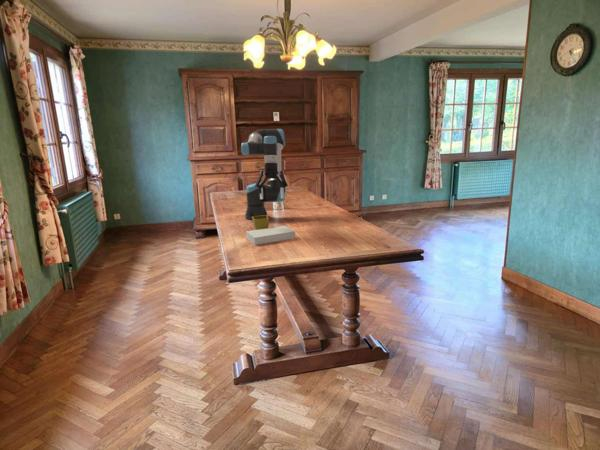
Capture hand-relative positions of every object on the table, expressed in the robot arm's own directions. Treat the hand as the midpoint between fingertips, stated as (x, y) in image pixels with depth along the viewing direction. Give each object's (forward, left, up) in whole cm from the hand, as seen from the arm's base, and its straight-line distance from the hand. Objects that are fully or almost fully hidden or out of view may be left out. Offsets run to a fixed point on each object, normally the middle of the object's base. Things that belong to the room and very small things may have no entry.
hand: (272, 198), depth 230 cm
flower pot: (+1, -8, -19) cm, 21 cm away
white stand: (+16, -8, -19) cm, 26 cm away
